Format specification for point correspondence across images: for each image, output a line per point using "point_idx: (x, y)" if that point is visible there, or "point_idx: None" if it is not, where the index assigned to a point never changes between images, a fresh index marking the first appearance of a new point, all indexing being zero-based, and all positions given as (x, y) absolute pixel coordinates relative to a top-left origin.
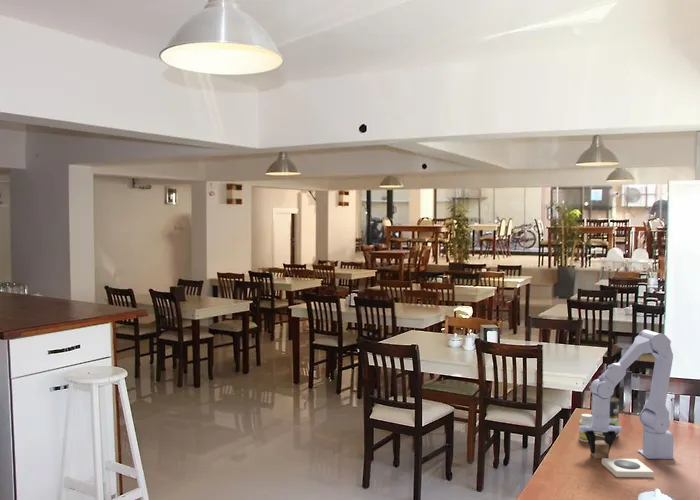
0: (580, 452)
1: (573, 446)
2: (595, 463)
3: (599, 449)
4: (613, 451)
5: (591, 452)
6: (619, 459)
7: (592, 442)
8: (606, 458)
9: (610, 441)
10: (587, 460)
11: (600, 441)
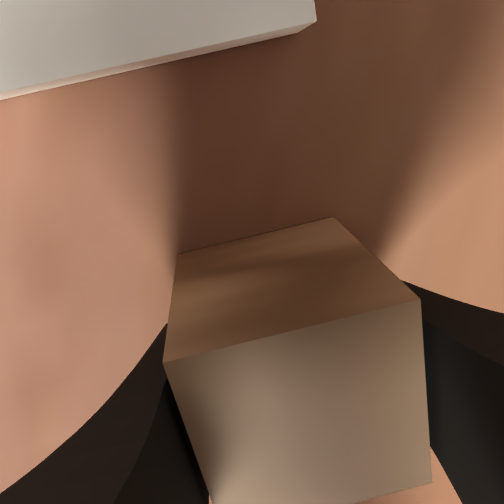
0: None
1: (453, 498)
2: (380, 20)
3: (322, 273)
4: None
5: None
6: (16, 34)
7: (501, 322)
8: (239, 35)
9: (118, 433)
10: (450, 124)
11: (289, 480)
